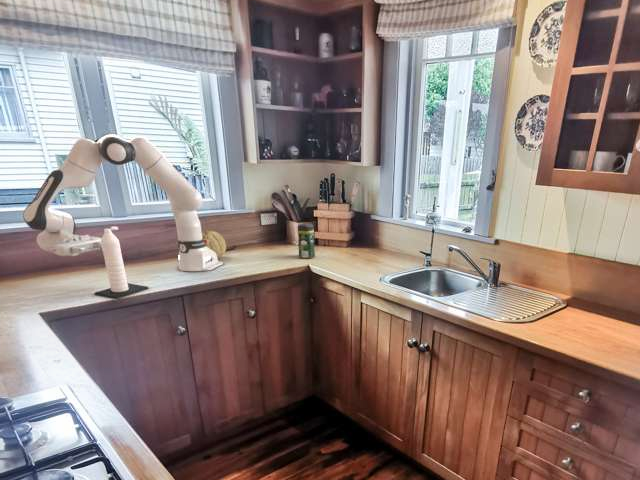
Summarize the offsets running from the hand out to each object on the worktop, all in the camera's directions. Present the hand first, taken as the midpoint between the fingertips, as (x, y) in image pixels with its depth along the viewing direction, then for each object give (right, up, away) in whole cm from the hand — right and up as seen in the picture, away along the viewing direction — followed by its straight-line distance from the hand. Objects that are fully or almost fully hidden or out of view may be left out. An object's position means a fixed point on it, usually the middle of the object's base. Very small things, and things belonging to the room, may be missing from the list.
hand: (94, 248), depth 191 cm
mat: (+10, -17, +3) cm, 20 cm away
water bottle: (+10, -17, +3) cm, 20 cm away
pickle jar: (+77, +12, +70) cm, 105 cm away
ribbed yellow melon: (+28, +8, +59) cm, 66 cm away
